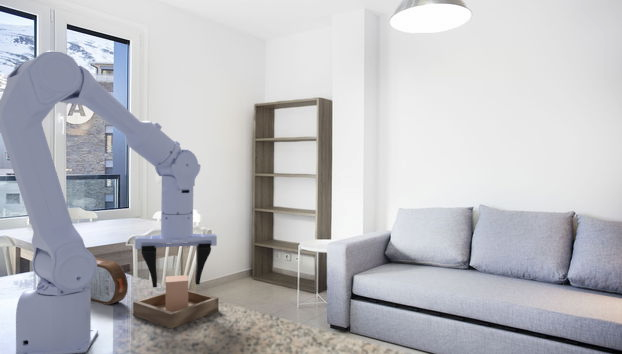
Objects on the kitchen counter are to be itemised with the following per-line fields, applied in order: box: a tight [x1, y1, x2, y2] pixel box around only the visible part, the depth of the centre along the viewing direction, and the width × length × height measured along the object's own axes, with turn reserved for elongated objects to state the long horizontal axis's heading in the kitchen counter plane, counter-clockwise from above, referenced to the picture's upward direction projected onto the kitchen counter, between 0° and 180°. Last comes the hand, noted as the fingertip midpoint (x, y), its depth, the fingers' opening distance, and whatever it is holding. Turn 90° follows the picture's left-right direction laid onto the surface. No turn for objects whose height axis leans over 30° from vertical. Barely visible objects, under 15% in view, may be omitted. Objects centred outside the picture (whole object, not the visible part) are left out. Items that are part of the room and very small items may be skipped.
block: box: [165, 274, 189, 312], centre depth 80 cm, size 4×4×6 cm
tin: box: [90, 256, 129, 305], centre depth 87 cm, size 15×3×8 cm, turn 61°
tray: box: [132, 289, 220, 330], centre depth 80 cm, size 11×11×2 cm
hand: (176, 284), depth 80 cm, fingers open, 7 cm apart
